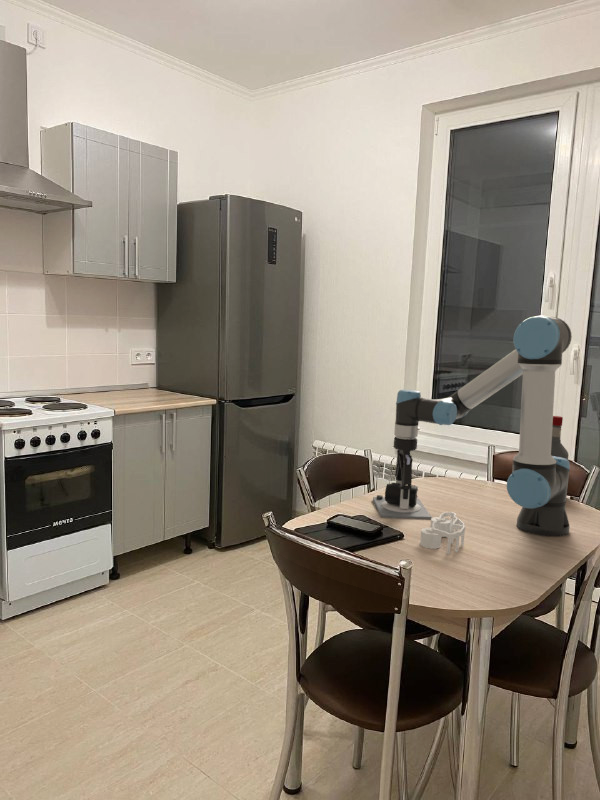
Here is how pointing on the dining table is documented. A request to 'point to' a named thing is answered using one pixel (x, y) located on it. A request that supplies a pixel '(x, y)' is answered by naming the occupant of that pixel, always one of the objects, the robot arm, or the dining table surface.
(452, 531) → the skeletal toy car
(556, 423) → the liquor
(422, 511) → the plate
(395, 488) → the end cap
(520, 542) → the dining table surface
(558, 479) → the robot arm
